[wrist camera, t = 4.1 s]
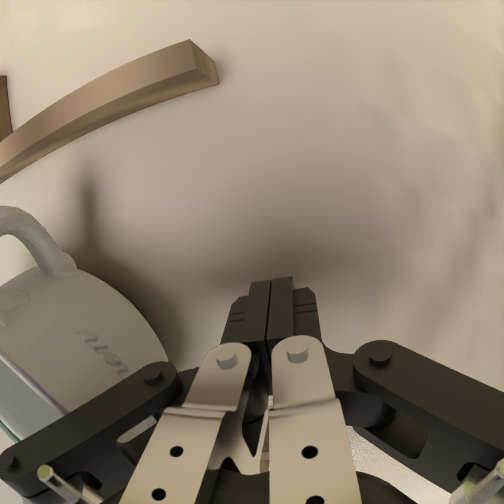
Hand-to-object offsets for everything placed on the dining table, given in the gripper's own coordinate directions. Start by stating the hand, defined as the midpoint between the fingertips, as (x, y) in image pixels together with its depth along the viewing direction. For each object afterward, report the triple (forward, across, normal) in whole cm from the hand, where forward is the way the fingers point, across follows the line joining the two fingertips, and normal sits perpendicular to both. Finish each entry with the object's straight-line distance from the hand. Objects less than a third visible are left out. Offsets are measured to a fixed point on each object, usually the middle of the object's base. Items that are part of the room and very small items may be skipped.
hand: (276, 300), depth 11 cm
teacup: (+2, +10, 0) cm, 10 cm away
